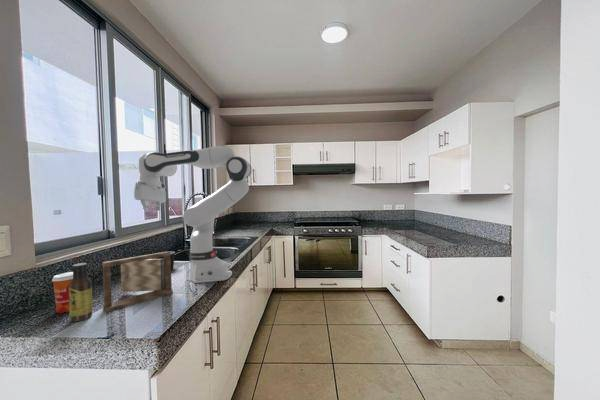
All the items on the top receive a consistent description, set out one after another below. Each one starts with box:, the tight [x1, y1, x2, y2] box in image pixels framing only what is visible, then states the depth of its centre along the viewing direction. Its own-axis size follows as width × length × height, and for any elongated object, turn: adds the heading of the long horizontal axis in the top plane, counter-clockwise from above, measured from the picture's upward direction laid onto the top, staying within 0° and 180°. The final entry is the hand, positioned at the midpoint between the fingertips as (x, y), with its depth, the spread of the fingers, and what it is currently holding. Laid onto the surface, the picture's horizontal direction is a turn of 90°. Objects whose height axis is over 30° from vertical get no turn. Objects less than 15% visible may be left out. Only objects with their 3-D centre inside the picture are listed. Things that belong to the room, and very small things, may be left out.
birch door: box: [120, 258, 165, 293], centre depth 110 cm, size 19×3×14 cm, turn 92°
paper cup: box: [51, 271, 73, 314], centre depth 96 cm, size 8×8×14 cm
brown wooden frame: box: [102, 250, 174, 313], centre depth 104 cm, size 24×6×18 cm, turn 137°
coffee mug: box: [152, 251, 176, 271], centre depth 147 cm, size 12×9×10 cm
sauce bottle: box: [69, 262, 93, 322], centre depth 89 cm, size 6×6×20 cm
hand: (152, 209), depth 128 cm, fingers open, 8 cm apart
